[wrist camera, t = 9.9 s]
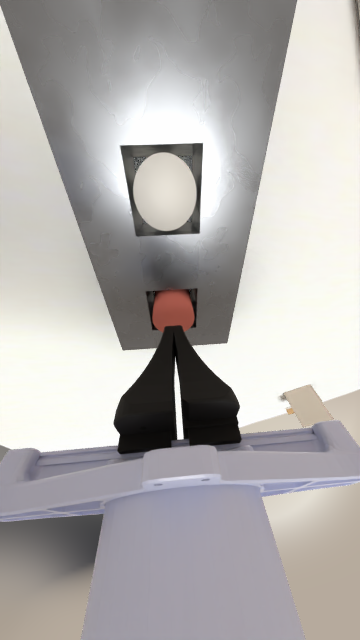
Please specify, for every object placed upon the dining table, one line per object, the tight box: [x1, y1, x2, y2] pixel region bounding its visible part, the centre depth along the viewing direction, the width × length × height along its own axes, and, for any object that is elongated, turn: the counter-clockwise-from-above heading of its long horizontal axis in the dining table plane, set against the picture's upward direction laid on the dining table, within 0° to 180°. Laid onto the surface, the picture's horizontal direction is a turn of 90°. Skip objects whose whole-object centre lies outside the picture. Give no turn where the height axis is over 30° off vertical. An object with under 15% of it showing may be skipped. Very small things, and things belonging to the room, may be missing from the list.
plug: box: [133, 152, 197, 231], centre depth 12 cm, size 4×4×5 cm
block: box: [0, 0, 297, 350], centre depth 13 cm, size 12×28×5 cm, turn 2°
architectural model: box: [284, 385, 334, 427], centre depth 36 cm, size 3×7×7 cm, turn 123°
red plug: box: [152, 289, 194, 332], centre depth 17 cm, size 4×4×5 cm
